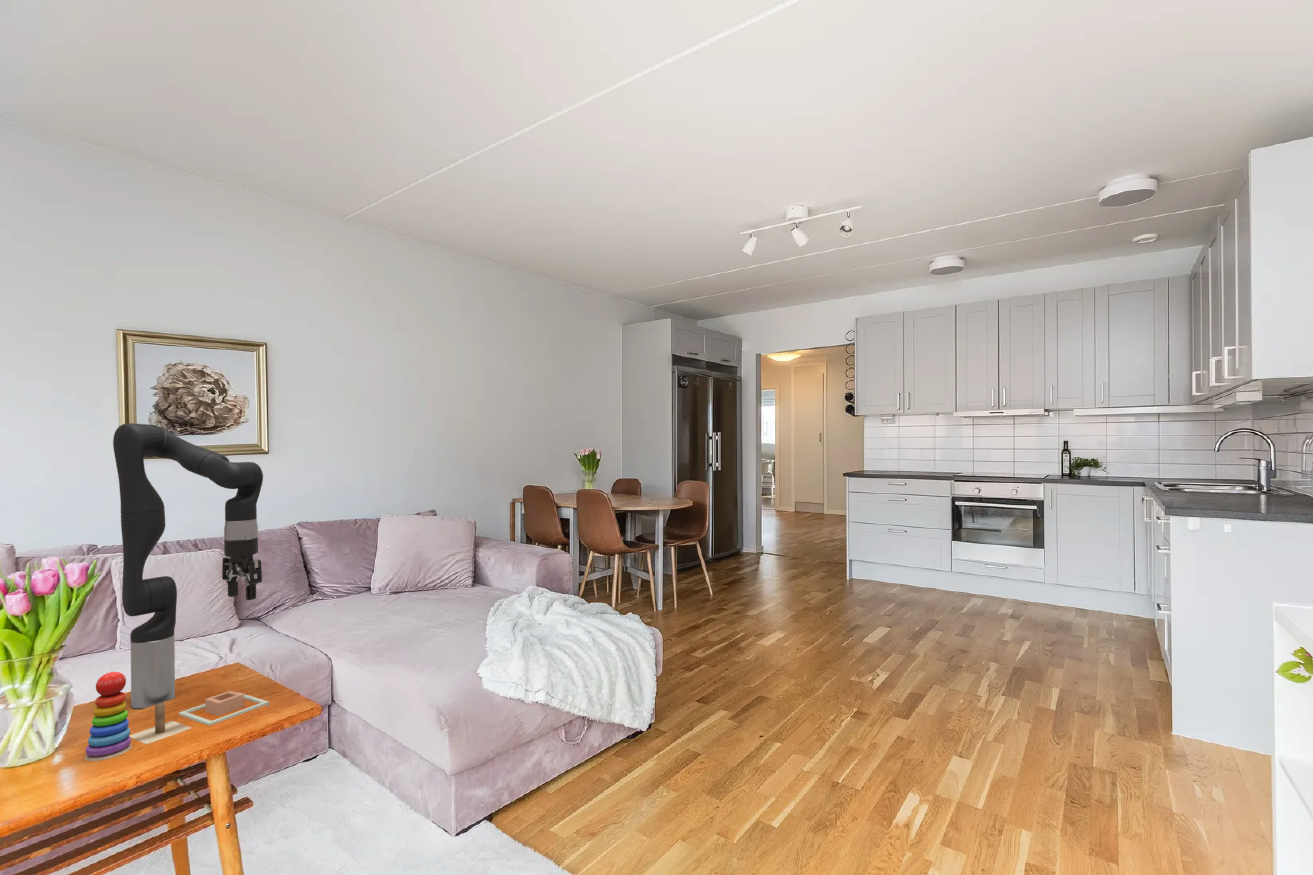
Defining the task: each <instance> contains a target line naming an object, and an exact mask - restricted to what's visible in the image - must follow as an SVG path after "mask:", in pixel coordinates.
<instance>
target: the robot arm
mask: <svg viewBox="0 0 1313 875" xmlns="http://www.w3.org/2000/svg"><path fill="white" fill-rule="evenodd" d="M112 447H113V454H114V459H115V460H114V461H115V466H116V470H117V478H118V485H119V499H120V501H119V502H120V526H121V529H120V530H121V538H122V540H121V541H122V554H123V555H122V558H123V560H122V561H123V563H122V564H123V565H122V584H121V586H122V587H121V590H122V591H121V602H122V608H123V611H124V613H125V615H127V616H128V617H138V616H142V615H148V614H153V616H152V617H150V618H149V619H148V620H147V621H145V622H144V623H141V624H140V625H138V626H136V627H134V628H133V629H132V630H131V632H130V639H129V640H130V707H131V708H133V709H147V708H150V707H152V706H155V704H158V703H166V702H168V701H172V700H174V699H175V697H176V695H175V694H176V664H175V663H176V658H175V657H176V653H175V652H176V650H175V649H176V647H175V645H176V644H175V628H176V623H177V622H176V621H177V603H178V588H177V584H176V581H175V580H174V578H173V577H172V576H169V575H168V576H167V575H166V576H165V575H164V576H158V577H157V576H156V577H151V578H143V575H144V570H145V569H144V568H145V565H146V562H147V559H148V557H149V555H150V554H151V552H152V551H153V550H154V548H155V546H156V545H157V543H158V542H159V541H160V539H161V537H162V536H163V534H164V532H165V530H166V514H165V513H166V511H165V509H166V508H165V503H164V501H163V499H162V497H161V496H160V494H159V493H158V491H157V490H156V488H155V487H154V486H153V485H152V482H150V480H149V478H148V476H147V474H146V469H145V460H144V459H145V458H146V459H150V458H151V459H152V458H161V459H162V458H163V459H168V460H172V461H174V462H177V463H178V464H179V465H180V466H181V467H182V468H183V469H185V471H188V472H190V473H193V474H196V475H197V476H201V477H203V478H206V479H209V481H211V482H213V483H214V484H216V485H217V486H219V487H221V488H223V489H228V490H237V491H236V494H235V496H233V497H231V498H229V499H227V500H226V501H225V504H224V520H225V521H224V529H223V543H224V544H223V546H224V547H223V548H224V549H223V550H224V551H223V553H224V556H225V557H222V562H221V563H222V564H221V565H222V566H221V567H222V568H221V569H222V572H221V574H222V576H221V579H222V581H224V580H225V583H226V584H227V597H228V598H229V597H230V598H231V597H232V598H233V597H237V596H238V595H239V582H238V580H239V578H240V579H242V580H243V582H244V584H245V600H246V601H252V600H255V599H256V598H257V585H258V584H259V583H262V582H263V575H262V560H261V559H257V560H256V559H255V560H254V555H256V554H258V553H259V526H258V520H257V518H258V515H257V514H258V513H257V511H258V510H257V509H258V508H257V503H258V499H259V497H260V493H261V491H262V490H261V489H262V486H263V481H264V473H263V470H262V468H261V467H260V465H259V464H257V463H256V462H252V461H243V462H242V461H239V462H238V461H237V462H233V461H230V460H229V458H228V457H227V456H226V455H224V454H221V453H219V452H216V451H213V450H210V449H207V448H204V447H202V446H199V445H196V444H193V443H191V442H188V441H187V440H185V439H183V438H181V437H179V436H178V435H176V434H174V433H172V432H171V431H169V430H167V429H165V428H164V427H161V426H159V425H156V424H145V423H133V422H131V423H129V422H127V423H123V424H121V425H118V427H117V428H116V430H115V432H114V434H113V439H112Z"/></svg>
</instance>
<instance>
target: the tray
mask: <svg viewBox="0 0 1313 875" xmlns="http://www.w3.org/2000/svg"><path fill="white" fill-rule="evenodd" d="M237 693H240V694H244V700H246V701H249V702H253V703H256V704H254V705H252V706H249V707H246V708H244V709H240V710H239V711H235V712H233V713H232V712H231V713H230V714H227V715H223V716H221V717H218V718H216V719H214V720H211V719H207V718H204V717H202V716H198V715H195V714H193V712H195V711H199V710H201V709H205V703H202V704H200V705H198V706H194V707H191V708H188V709H185V710H183V711H180V712H178V715H179V716H181V717H184V718H187V719H190V720H192V721H194V722H198V723H200V724H203V725H206V726H212V725H215V724H218V723H220V722H223V721H226V720H228V719H233V718H234V717H237V716H239V715H240V716H241V715H242V714H245V713H247V712H250V711H251V712H252V711H253V710H257V709H259V708H262V707H264V706H266V707H270V701H267V700H264V699H261V698H258V697H255V696H252V695H248V694H245V693H242V692H237Z"/></svg>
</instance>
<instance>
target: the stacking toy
mask: <svg viewBox="0 0 1313 875" xmlns="http://www.w3.org/2000/svg"><path fill="white" fill-rule="evenodd" d="M126 684H127V678H126V676H125V675H124V674H123V673H122V672H119V671H109V672H106V673H104V674H103V675H102V676H100V677H99V678H98V680H97V681H96V684H95V691H96V692H97V693H98V695H99V696H98V697H96V699H95V700H94V701H95V702H94V704H95V706H96V707H95V708H93V712H92V713H93V717H92V719H91V723H92V726H91V727H90V729H89V734H90V735H89V737H88V739H87V743H88V745H87V746H86V748H85V756H84V760H86V761H87V762H97V761H104V760H107V759H112V758H116V757H117V756H120V755H123V754H125V753H126V752H128V751H130V750H131V749H132V744H131V743H132V738H131V737H130V736H129V735H131V728H130V727H129V724H130V721H129V719H128V716H129V712H128V711H127V710H126V708H127V702H125V700H126V697H127V696H126V693H125V692H123V691H122V690H124V688H125V686H126Z"/></svg>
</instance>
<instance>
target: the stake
mask: <svg viewBox="0 0 1313 875" xmlns="http://www.w3.org/2000/svg"><path fill="white" fill-rule="evenodd" d="M165 708H166V702H162V703H158V704H155V705H154V726H153V727H150V728H146V729H144V730H141V731H138V732H134V733H132V734H129V736H130V737H131V739H133V740H135V741H138V742H140V743H142V744H144V745H149V744H152V743H154V742H156V741H160V740H162V739H163V740H164V739H166V738H168V737H171V736H174V735H176V734H179V733H182V732H185V731H187V730H190V729H192V727H191V726H188V725H186V724H183V723H181V722H178V721H175V720H170V721H167V722H166V709H165Z"/></svg>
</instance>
